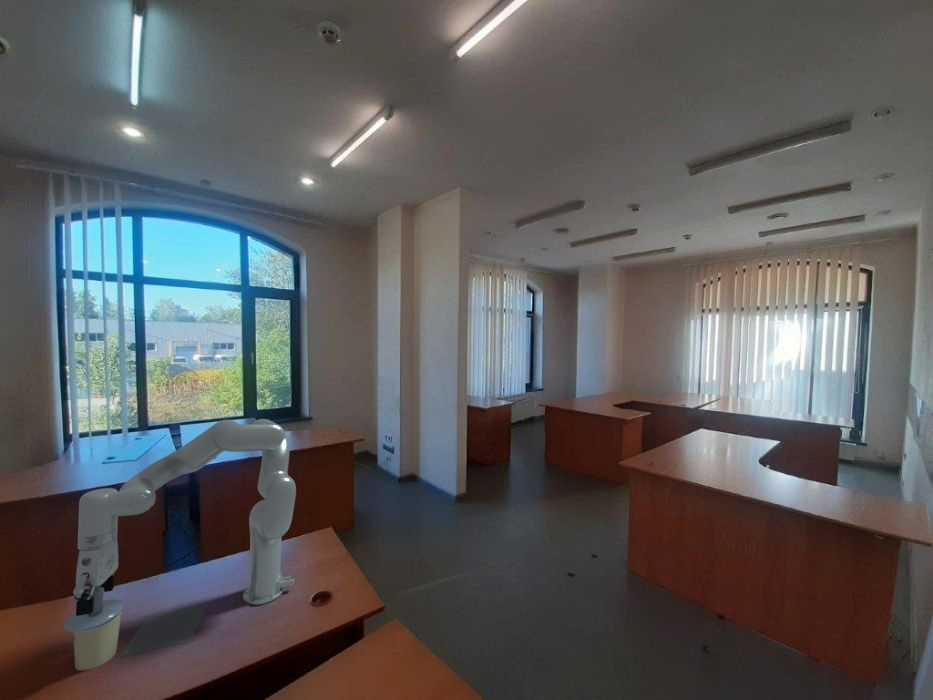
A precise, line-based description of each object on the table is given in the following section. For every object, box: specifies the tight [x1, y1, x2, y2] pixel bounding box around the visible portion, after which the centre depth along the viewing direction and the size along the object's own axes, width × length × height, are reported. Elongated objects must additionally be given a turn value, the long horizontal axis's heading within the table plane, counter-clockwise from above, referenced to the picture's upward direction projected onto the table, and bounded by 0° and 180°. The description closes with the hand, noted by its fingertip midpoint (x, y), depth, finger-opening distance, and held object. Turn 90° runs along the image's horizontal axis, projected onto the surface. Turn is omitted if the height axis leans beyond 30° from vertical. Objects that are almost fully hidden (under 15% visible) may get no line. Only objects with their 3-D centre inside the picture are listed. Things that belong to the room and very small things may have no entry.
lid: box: [64, 586, 124, 632], centre depth 99 cm, size 11×11×8 cm
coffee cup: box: [72, 610, 123, 671], centre depth 99 cm, size 9×9×12 cm
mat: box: [119, 604, 209, 657], centre depth 110 cm, size 16×16×1 cm
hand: (95, 602), depth 99 cm, fingers open, 9 cm apart
